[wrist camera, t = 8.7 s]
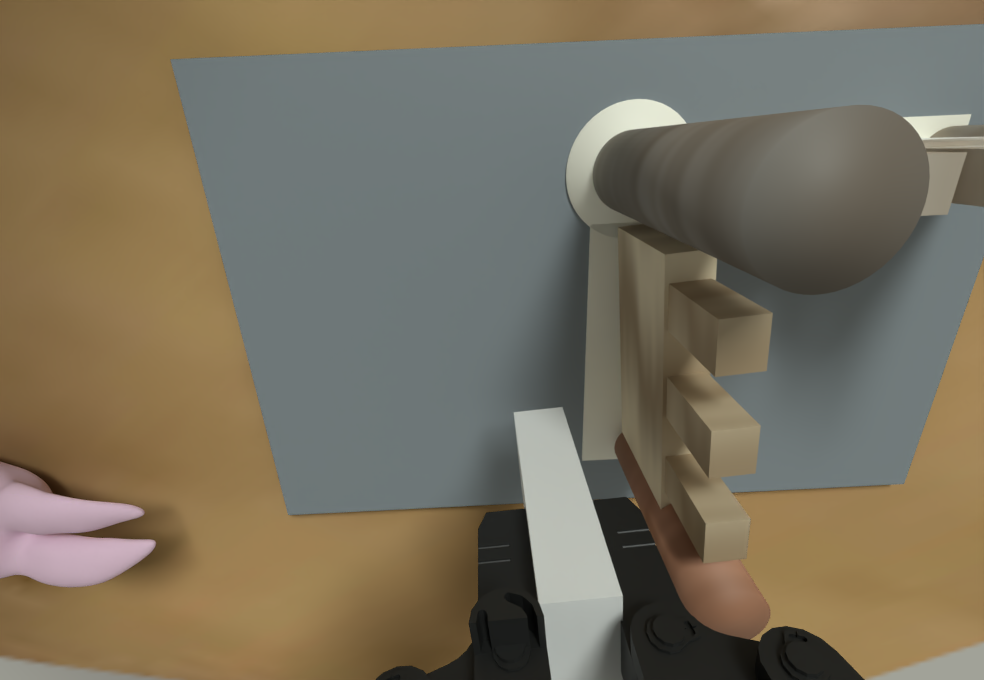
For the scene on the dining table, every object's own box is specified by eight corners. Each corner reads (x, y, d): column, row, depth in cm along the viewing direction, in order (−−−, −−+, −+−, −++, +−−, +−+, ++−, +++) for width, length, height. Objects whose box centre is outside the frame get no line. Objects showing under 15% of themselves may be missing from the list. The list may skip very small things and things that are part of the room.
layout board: (291, 507, 20) (287, 516, 19) (179, 61, 14) (168, 58, 13) (895, 477, 20) (905, 485, 19) (1050, 23, 14) (1070, 19, 13)
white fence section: (590, 214, 15) (730, 298, 7) (593, 130, 14) (759, 109, 6) (958, 197, 15) (1548, 259, 7) (984, 113, 14) (1704, 66, 6)
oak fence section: (608, 228, 15) (711, 293, 8) (666, 221, 15) (817, 280, 8) (615, 468, 18) (692, 649, 11) (662, 462, 18) (766, 641, 11)
